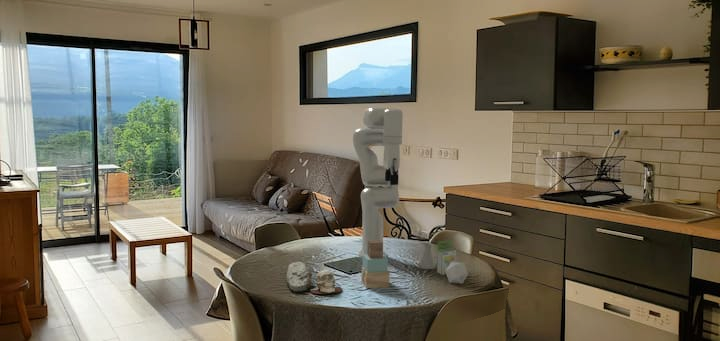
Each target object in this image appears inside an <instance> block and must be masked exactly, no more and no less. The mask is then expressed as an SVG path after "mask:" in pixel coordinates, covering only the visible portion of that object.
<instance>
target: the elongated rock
mask: <svg viewBox="0 0 720 341" xmlns="http://www.w3.org/2000/svg"><path fill="white" fill-rule="evenodd" d="M286 269H287V271H286V272H285V273H286V276H285V279H286V280H285V281H286V283H287V285H288V288H289V289H290V290H291V291H293V292H304V291H305V292H306V291H307V290H308V289H311V284H312V277H313V273H312V272H310V271H309V269H308V266H307V265H306V263H305V262H302V261H296V262H294V261H293V262H292V263H290V264H289V265H287V268H286Z"/></svg>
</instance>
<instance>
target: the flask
mask: <svg viewBox="0 0 720 341" xmlns="http://www.w3.org/2000/svg"><path fill="white" fill-rule="evenodd" d="M423 246H424V251H423V255H422V258H421V260H420V262H419V265H418V267H419V268H420V269H422V270H434V269H437V265H436V264H435V261H434V257H433V255H432V244H430V243H425V244H424V245H423Z"/></svg>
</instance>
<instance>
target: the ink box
mask: <svg viewBox="0 0 720 341" xmlns="http://www.w3.org/2000/svg"><path fill="white" fill-rule="evenodd" d="M443 244H447V245H443ZM451 245H452V240H451V239H449V240H441V241H437V251H436V252H437V253H436V254H437V256H436V257H437V258H436V264H437V265H436V273H437V274H438V275H440V276H447V275H446V272H445V271H446V269H447V267H448V266H449V264H450V263H451V262H457V250H456V249H454V248H452V247H451Z"/></svg>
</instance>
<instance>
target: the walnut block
mask: <svg viewBox="0 0 720 341" xmlns="http://www.w3.org/2000/svg"><path fill="white" fill-rule="evenodd" d="M383 251H384V241H383V242H382V241H381V240H368V256H369V258H383Z"/></svg>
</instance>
